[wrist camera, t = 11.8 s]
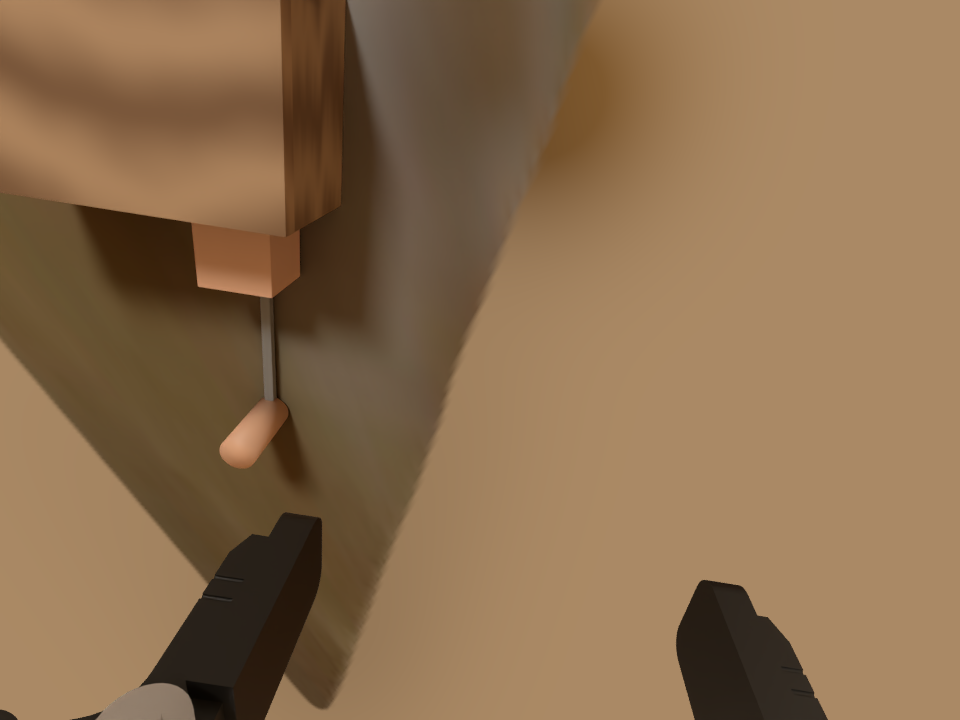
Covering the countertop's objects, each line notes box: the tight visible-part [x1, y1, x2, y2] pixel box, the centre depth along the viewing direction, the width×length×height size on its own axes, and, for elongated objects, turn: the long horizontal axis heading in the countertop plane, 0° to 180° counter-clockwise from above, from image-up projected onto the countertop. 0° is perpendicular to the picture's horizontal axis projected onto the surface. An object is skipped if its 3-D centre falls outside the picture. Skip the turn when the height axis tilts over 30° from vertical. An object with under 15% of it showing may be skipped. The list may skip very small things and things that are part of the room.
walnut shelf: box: [0, 0, 346, 237], centre depth 29 cm, size 12×20×9 cm, turn 82°
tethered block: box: [191, 223, 300, 469], centre depth 37 cm, size 18×5×6 cm, turn 172°
